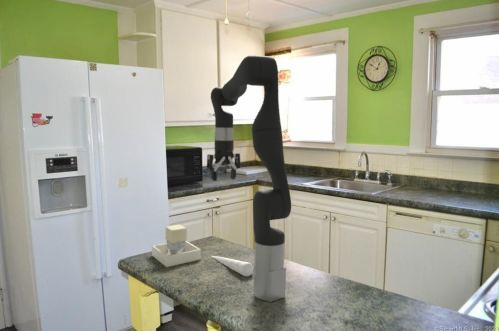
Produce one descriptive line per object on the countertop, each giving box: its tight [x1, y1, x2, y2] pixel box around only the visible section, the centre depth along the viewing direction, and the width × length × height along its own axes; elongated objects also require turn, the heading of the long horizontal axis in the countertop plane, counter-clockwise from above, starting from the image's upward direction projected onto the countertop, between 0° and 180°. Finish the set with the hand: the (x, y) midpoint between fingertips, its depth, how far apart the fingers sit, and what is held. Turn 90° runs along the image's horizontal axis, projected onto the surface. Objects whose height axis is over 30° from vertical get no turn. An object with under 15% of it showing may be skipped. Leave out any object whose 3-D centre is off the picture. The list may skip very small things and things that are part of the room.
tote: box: [151, 241, 202, 268], centre depth 151 cm, size 14×14×4 cm
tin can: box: [166, 240, 185, 256], centre depth 150 cm, size 7×7×7 cm
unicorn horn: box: [211, 255, 254, 277], centre depth 145 cm, size 5×24×5 cm, turn 36°
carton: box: [164, 224, 188, 243], centre depth 150 cm, size 6×6×5 cm
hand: (223, 179), depth 155 cm, fingers open, 8 cm apart
